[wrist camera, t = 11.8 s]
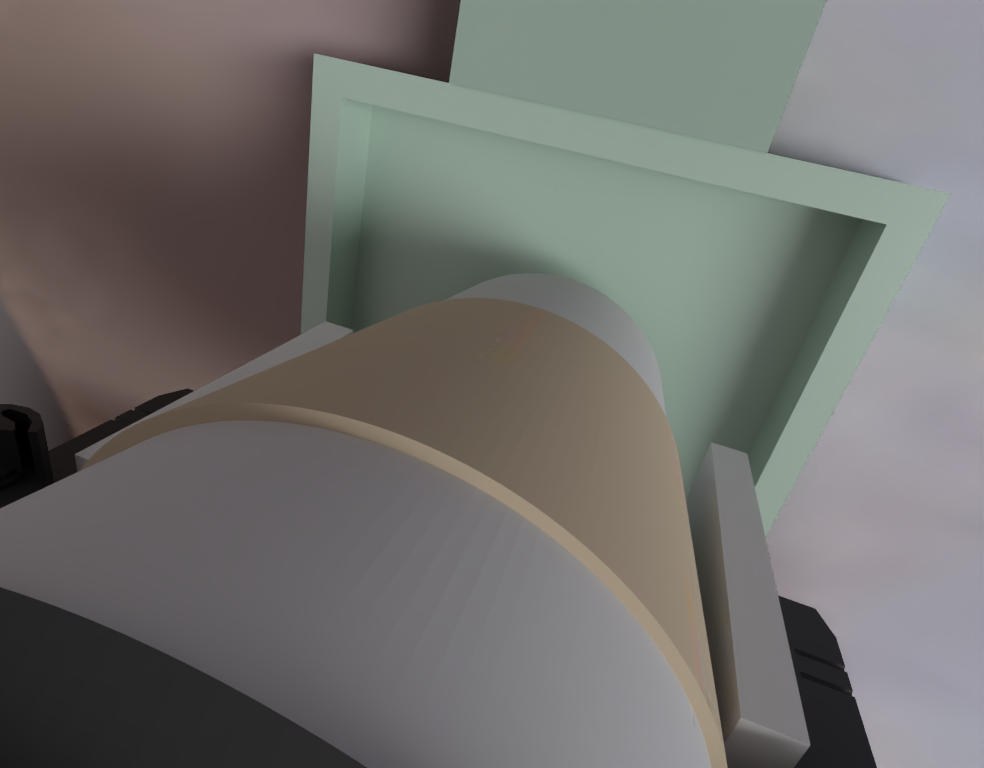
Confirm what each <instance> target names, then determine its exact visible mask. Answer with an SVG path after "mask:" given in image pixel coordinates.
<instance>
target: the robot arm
mask: <svg viewBox="0 0 984 768" xmlns="http://www.w3.org/2000/svg"><path fill="white" fill-rule="evenodd" d="M353 333H354V330H352V329H348V328H345V327H342V326H339V325H336V324H332V323H329V322H324V323H322V324H320V325H318V326H316V327H315V328H313V329H311V330H309V331H307V332H305V333H303V334H301V335H299V336H298V337H296V338H294V339H292V340H290V341H288V342H286V343H284V344H282V345H280V346H279V347H277V348H275V349H273V350H271V351H269V352H267V353H265V354H263V355H262V356H260V357H258V358H256V359H254V360H252V361H250V362H248V363H246V364H245V365H243V366H241V367H239V368H237V369H235V370H233V371H231V372H229V373H228V374H226V375H224V376H222V377H220V378H218V379H216V380H214V381H212V382H211V383H209V384H207V385H205V386H203V387H201V388H199V389H197V390H195V391H193V390H190V389H184V390H180V391H176V392H172V393H168V394H164V395H160V396H157V397H155V398H153V399H151V400H149V401H147V402H145V403H143V404H141V405H139V406H137V407H135V410H134V411H132V410H129V411H127V412H125V413H123V414H121V415H119V416H117V417H116V419H115V420H114V421H113V420H109V421H107V422H105V423H103V424H102V425H100V426H98V427H96V428H94V429H92V430H90V431H88V432H86V433H84V434H82V435H80V436H78V437H76V438H74V439H72V440H70V441H68V442H66V443H64V444H62V445H60V446H58V447H56V448H54V449H52V450H50V451H48V447H47V442H46V437H45V431H44V426H43V421H42V419H41V416H40V414H39V413H37V412H35V411H33V410H32V409H30V408H27V407H22V406H17V405H12V404H9V405H8V404H1V405H0V508H2V507H5V506H7V505H9V504H11V503H13V502H15V501H17V500H19V499H22V498H24V497H26V496H28V495H30V494H32V493H34V492H37V491H39V490H41V489H43V488H45V487H47V486H49V485H51V484H54V483H56V482H58V481H60V480H62V479H64V478H66V477H69V476H71V475H73V474H75V473H77V472H79V471H80V470H81V468H82V467H83V466H84V464H85V463H86V462H87V461H88V460H89V459H90V457H91V456H92V455H93V454H94V453H95V452H96V451H97V450H99V449H100V448H101V447H102V446H103V445H104V444H106V443H107V442H108V441H109V440H111V439H112V438H114V437H115V436H117V435H118V434H120V433H121V432H123V431H125V430H126V429H128V428H130V427H132V426H134V425H136V424H138V423H140V422H142V421H145V420H147V419H149V418H152V417H154V416H157V415H159V414H161V413H164V412H166V411H169V410H171V409H173V408H176V407H178V406H181V405H183V404H185V403H188V402H190V401H192V400H195V399H197V398H200V397H202V396H204V395H207V394H209V393H212V392H214V391H216V390H219V389H221V388H224V387H226V386H228V385H231V384H233V383H235V382H238V381H240V380H243V379H245V378H247V377H250V376H252V375H255V374H257V373H259V372H262V371H264V370H267V369H269V368H271V367H274V366H276V365H279V364H281V363H283V362H286V361H288V360H290V359H293V358H295V357H298V356H300V355H302V354H305V353H307V352H310V351H312V350H314V349H317V348H319V347H322V346H324V345H326V344H329V343H331V342H333V341H336V340H338V339H341V338H343V337H345V336H348V335H350V334H353ZM686 505H687V512H688V518H689V524H690V531H691V537H692V543H693V550H694V556H695V563H696V569H697V575H698V582H699V588H700V594H701V601H702V607H703V614H704V620H705V626H706V633H707V639H708V646H709V652H710V658H711V665H712V671H713V677H714V684H715V690H716V697H717V703H718V709H719V716H720V722H721V728H722V735H723V741H724V748H725V754H726V760H727V767H728V768H877V767H876V763H875V760H874V757H873V754H872V751H871V748H870V744H869V741H868V738H867V735H866V732H865V728H864V725H863V722H862V719H861V716H860V713H859V709H858V706H857V703H856V700H855V697H852V691H853V690H852V687H851V684H850V681H849V678H848V674H847V672H844V668H845V665H844V662H843V658H842V655H841V652H840V649H839V646H838V643H837V639H836V637H835V636H834V634H833V633H832V631H831V630H830V629H829V627H828V626H827V624H826V623H825V622H824V620H823V619H822V617H821V616H820V615H819V613H818V612H817V610H816V609H814V608H812V607H809V606H806V605H803V604H800V603H798V602H795V601H792V600H789V599H786V598H783V597H781V596H778V593H777V588H776V584H775V579H774V574H773V570H772V565H771V561H770V556H769V551H768V547H767V542H766V538H765V533H764V528H763V524H762V519H761V515H760V510H759V505H758V501H757V496H756V492H755V487H754V482H753V478H752V473H751V468H750V464H749V459H748V455H747V453H744V452H741V451H738V450H734V449H731V448H728V447H725V446H722V445H718V444H715V443H712V442H711V444H710V446H709V449H708V451H707V453H706V455H705V458H704V460H703V462H702V464H701V467H700V469H699V471H698V474H697V476H696V478H695V480H694V483H693V485H692V487H691V489H690V492H689V494H688V496H687V498H686Z"/></svg>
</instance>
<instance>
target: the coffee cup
mask: <svg viewBox="0 0 984 768" xmlns="http://www.w3.org/2000/svg"><path fill="white" fill-rule="evenodd" d="M0 768H728V767H727V760H726V754H725V748H724V741H723V735H722V728H721V722H720V716H719V709H718V703H717V697H716V690H715V684H714V677H713V671H712V665H711V658H710V652H709V646H708V639H707V633H706V626H705V620H704V614H703V607H702V601H701V594H700V588H699V582H698V575H697V569H696V563H695V556H694V550H693V543H692V537H691V531H690V524H689V518H688V512H687V505H686V499H685V492H684V486H683V480H682V473H681V467H680V460H679V455H678V451H677V446H676V442H675V439H674V436H673V433H672V430H671V427H670V425H669V423H668V420H667V418H666V411H665V403H664V396H663V388H662V381H661V374H660V370H659V366H658V363H657V360H656V357H655V354H654V352H653V350H652V347H651V345H650V343H649V342H648V340H647V338H646V336H645V335H644V333H643V332H642V330H641V329H640V327H639V326H638V325H637V324H636V322H635V321H634V320H633V319H632V318H631V317H630V316H629V315H628V313H627V312H626V311H624V310H623V309H622V308H621V307H620V306H619V305H618V304H617V303H615V302H614V301H613V300H611V299H610V298H609V297H607V296H606V295H604V294H602V293H601V292H599V291H597V290H595V289H594V288H592V287H590V286H587V285H585V284H583V283H580V282H578V281H575V280H572V279H569V278H565V277H561V276H556V275H550V274H542V273H519V274H511V275H506V276H501V277H497V278H494V279H490V280H488V281H485V282H483V283H480V284H478V285H476V286H474V287H471V288H469V289H467V290H465V291H463V292H461V293H459V294H457V295H454V296H452V297H450V298H448V299H446V300H442V301H437V302H432V303H429V304H425V305H422V306H418V307H416V308H413V309H410V310H408V311H405V312H403V313H400V314H398V315H396V316H393V317H391V318H388V319H386V320H384V321H381V322H379V323H377V324H374V325H372V326H369V327H367V328H365V329H362V330H360V331H357V332H355V333H353V334H350V335H348V336H345V337H343V338H341V339H338V340H336V341H333V342H331V343H329V344H326V345H324V346H322V347H319V348H317V349H314V350H312V351H310V352H307V353H305V354H302V355H300V356H298V357H295V358H293V359H290V360H288V361H286V362H283V363H281V364H279V365H276V366H274V367H271V368H269V369H267V370H264V371H262V372H259V373H257V374H255V375H252V376H250V377H247V378H245V379H243V380H240V381H238V382H235V383H233V384H231V385H228V386H226V387H224V388H221V389H219V390H216V391H214V392H212V393H209V394H207V395H204V396H202V397H200V398H197V399H195V400H192V401H190V402H188V403H185V404H183V405H181V406H178V407H176V408H173V409H171V410H169V411H166V412H164V413H161V414H159V415H157V416H154V417H152V418H149V419H147V420H145V421H142V422H140V423H138V424H136V425H134V426H132V427H130V428H128V429H126V430H125V431H123V432H121V433H120V434H118V435H117V436H115V437H114V438H112V439H111V440H109V441H108V442H107V443H106V444H104V445H103V446H102V447H101V448H100V449H99V450H97V451H96V452H95V453H94V454H93V455H92V456H91V457H90V459H89V460H88V461H87V462H86V463H85V464H84V466H83V467H82V468H81V470H80V471H79V472H77V473H75V474H73V475H71V476H69V477H66V478H64V479H62V480H60V481H58V482H56V483H54V484H51V485H49V486H47V487H45V488H43V489H41V490H39V491H37V492H34V493H32V494H30V495H28V496H26V497H24V498H22V499H19V500H17V501H15V502H13V503H11V504H9V505H7V506H5V507H2V508H0Z"/></svg>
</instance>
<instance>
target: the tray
mask: <svg viewBox="0 0 984 768" xmlns="http://www.w3.org/2000/svg"><path fill="white" fill-rule="evenodd" d="M825 3H826V0H461V2H460V9H459V16H458V23H457V30H456V37H455V44H454V51H453V58H452V65H451V72H450V78H449V83H446V82H442V81H437V80H433V79H428V78H424V77H419V76H415V75H410V74H406V73H401V72H396V71H392V70H387V69H383V68H378V67H374V66H369V65H365V64H360V63H356V62H351V61H346V60H342V59H337V58H333V57H328V56H324V55H319V54H315V53H314V62H313V83H312V104H311V124H310V145H309V166H308V187H307V208H306V229H305V250H304V270H303V291H302V312H301V333H300V335H301V334H303V333H305V332H307V331H309V330H311V329H313V328H315V327H316V326H318V325H320V324H322V323H324V322H329V323H332V324H336V325H339V326H342V327H345V328H348V329H352V330H354V333H355V332H357V331H360V330H362V329H365V328H367V327H369V326H372V325H374V324H377V323H379V322H381V321H384V320H386V319H388V318H391V317H393V316H396V315H398V314H400V313H403V312H405V311H408V310H410V309H413V308H416V307H418V306H422V305H425V304H429V303H432V302H437V301H442V300H446V299H448V298H450V297H452V296H454V295H457V294H459V293H461V292H463V291H465V290H467V289H469V288H471V287H474V286H476V285H478V284H480V283H483V282H485V281H488V280H490V279H494V278H497V277H501V276H506V275H511V274H519V273H542V274H550V275H556V276H561V277H565V278H569V279H572V280H575V281H578V282H580V283H583V284H585V285H587V286H590V287H592V288H594V289H595V290H597V291H599V292H601V293H602V294H604V295H606V296H607V297H609V298H610V299H611V300H613V301H614V302H615V303H617V304H618V305H619V306H620V307H621V308H622V309H623V310H624V311H626V312H627V313H628V315H629V316H630V317H631V318H632V319H633V320H634V321H635V322H636V324H637V325H638V326H639V327H640V329H641V330H642V332H643V333H644V335H645V336H646V338H647V340H648V342H649V343H650V345H651V347H652V350H653V352H654V354H655V357H656V360H657V363H658V366H659V370H660V374H661V381H662V388H663V396H664V403H665V411H666V418H667V420H668V423H669V425H670V427H671V430H672V433H673V436H674V439H675V442H676V446H677V451H678V455H679V460H680V467H681V473H682V480H683V486H684V492H685V499H686V498H687V496H688V494H689V492H690V489H691V487H692V485H693V483H694V480H695V478H696V476H697V474H698V471H699V469H700V467H701V464H702V462H703V460H704V458H705V455H706V453H707V451H708V449H709V446H710V444H711V442H712V443H715V444H718V445H722V446H725V447H728V448H731V449H734V450H738V451H741V452H744V453H747V455H748V459H749V464H750V468H751V473H752V478H753V482H754V487H755V492H756V496H757V501H758V505H759V510H760V515H761V519H762V524H763V528H764V533H765V538H766V536H767V534H768V532H769V530H770V529H771V527H772V525H773V523H774V521H775V519H776V517H777V516H778V514H779V512H780V510H781V508H782V506H783V505H784V503H785V501H786V499H787V497H788V495H789V493H790V492H791V490H792V488H793V486H794V484H795V482H796V480H797V479H798V477H799V475H800V473H801V471H802V469H803V467H804V466H805V464H806V462H807V460H808V458H809V456H810V454H811V453H812V451H813V449H814V447H815V445H816V443H817V441H818V440H819V438H820V436H821V434H822V432H823V430H824V429H825V427H826V425H827V423H828V421H829V419H830V417H831V416H832V414H833V412H834V410H835V408H836V406H837V404H838V403H839V401H840V399H841V397H842V395H843V393H844V391H845V390H846V388H847V386H848V384H849V382H850V380H851V378H852V377H853V375H854V373H855V371H856V369H857V367H858V366H859V364H860V362H861V360H862V358H863V356H864V354H865V353H866V351H867V349H868V347H869V345H870V343H871V341H872V340H873V338H874V336H875V334H876V332H877V330H878V328H879V327H880V325H881V323H882V321H883V319H884V317H885V315H886V314H887V312H888V310H889V308H890V306H891V304H892V302H893V301H894V299H895V297H896V295H897V293H898V291H899V290H900V288H901V286H902V284H903V282H904V280H905V278H906V277H907V275H908V273H909V271H910V269H911V267H912V265H913V264H914V262H915V260H916V258H917V256H918V254H919V252H920V251H921V249H922V247H923V245H924V243H925V241H926V239H927V238H928V236H929V234H930V232H931V230H932V228H933V226H934V225H935V223H936V221H937V219H938V217H939V215H940V214H941V212H942V210H943V208H944V206H945V204H946V202H947V201H948V199H949V197H950V195H951V193H946V192H942V191H937V190H933V189H928V188H923V187H919V186H914V185H910V184H905V183H901V182H896V181H892V180H887V179H883V178H878V177H874V176H869V175H864V174H860V173H855V172H851V171H846V170H842V169H837V168H833V167H828V166H824V165H819V164H814V163H810V162H805V161H801V160H796V159H792V158H787V157H783V156H778V155H774V154H769V153H768V150H769V148H770V145H771V142H772V140H773V137H774V135H775V132H776V129H777V127H778V124H779V122H780V119H781V117H782V114H783V111H784V109H785V106H786V104H787V101H788V98H789V96H790V93H791V91H792V88H793V86H794V83H795V80H796V78H797V75H798V73H799V70H800V67H801V65H802V62H803V60H804V57H805V55H806V52H807V49H808V47H809V44H810V42H811V39H812V36H813V34H814V31H815V29H816V26H817V24H818V21H819V18H820V16H821V13H822V11H823V8H824V5H825Z"/></svg>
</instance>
